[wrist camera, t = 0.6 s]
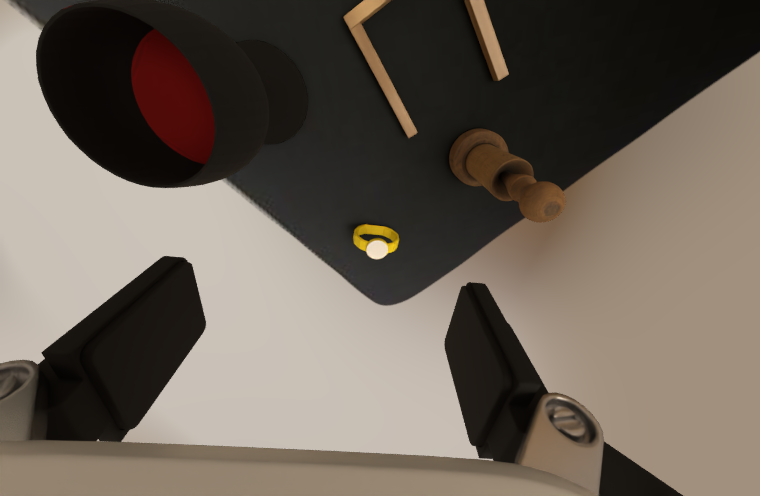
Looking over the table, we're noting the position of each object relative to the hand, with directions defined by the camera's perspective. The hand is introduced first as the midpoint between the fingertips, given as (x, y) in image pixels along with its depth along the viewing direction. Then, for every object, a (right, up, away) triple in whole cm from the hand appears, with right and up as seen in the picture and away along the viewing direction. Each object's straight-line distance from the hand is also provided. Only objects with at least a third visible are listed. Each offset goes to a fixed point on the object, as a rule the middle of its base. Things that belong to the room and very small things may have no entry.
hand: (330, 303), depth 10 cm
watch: (+1, +5, +31) cm, 31 cm away
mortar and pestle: (+14, +14, +26) cm, 32 cm away
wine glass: (-12, +19, +22) cm, 32 cm away
